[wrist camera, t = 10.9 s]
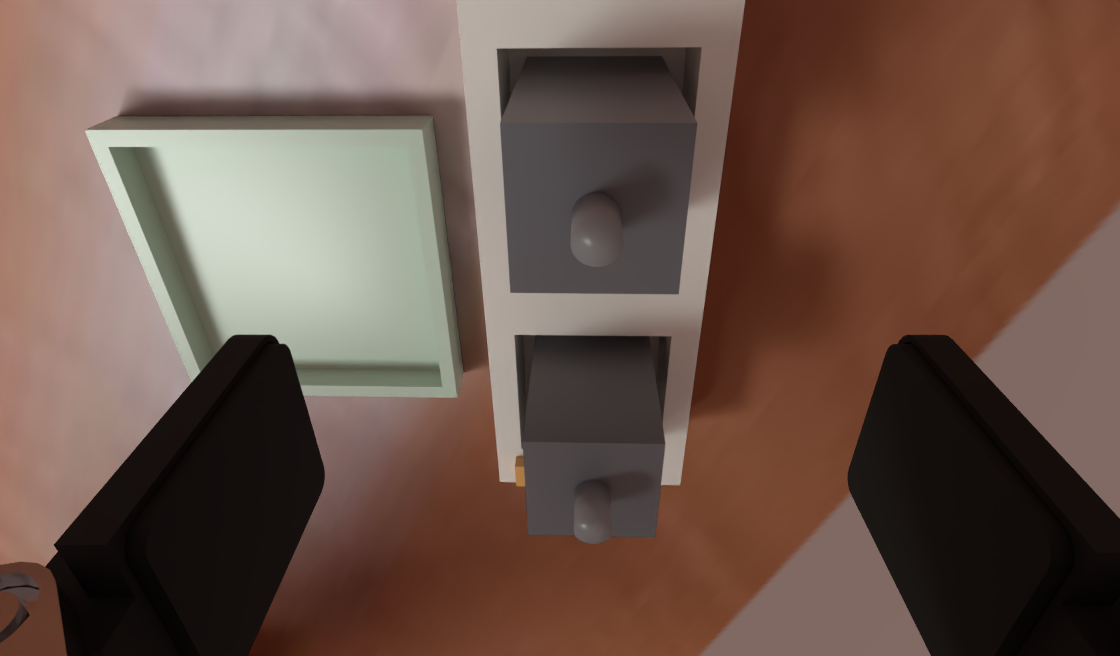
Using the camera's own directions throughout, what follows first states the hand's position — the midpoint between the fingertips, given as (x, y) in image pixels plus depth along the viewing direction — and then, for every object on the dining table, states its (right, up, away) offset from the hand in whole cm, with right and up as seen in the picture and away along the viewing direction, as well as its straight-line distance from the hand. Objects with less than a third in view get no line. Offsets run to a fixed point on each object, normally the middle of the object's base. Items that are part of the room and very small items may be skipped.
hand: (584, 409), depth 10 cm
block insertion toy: (+1, +5, +16) cm, 16 cm away
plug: (+1, +8, +12) cm, 15 cm away
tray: (-11, +4, +17) cm, 20 cm away
